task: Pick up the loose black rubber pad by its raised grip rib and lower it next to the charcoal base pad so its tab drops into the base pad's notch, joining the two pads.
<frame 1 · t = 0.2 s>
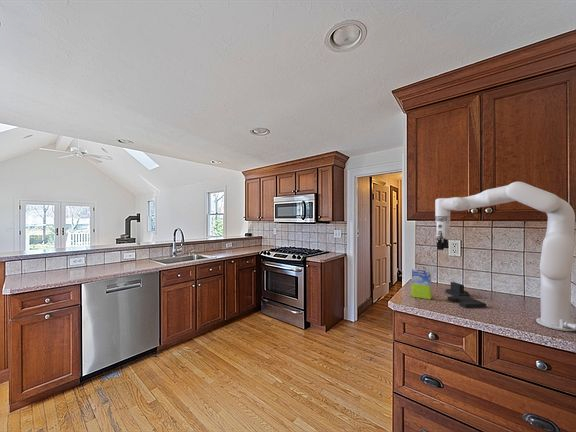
hand: (442, 248, 149), 31 cm above the table, tool pointing down, fingers open, 9 cm apart
box: (421, 297, 158), on the table
base pad: (466, 303, 147), on the table
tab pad: (457, 294, 163), on the table
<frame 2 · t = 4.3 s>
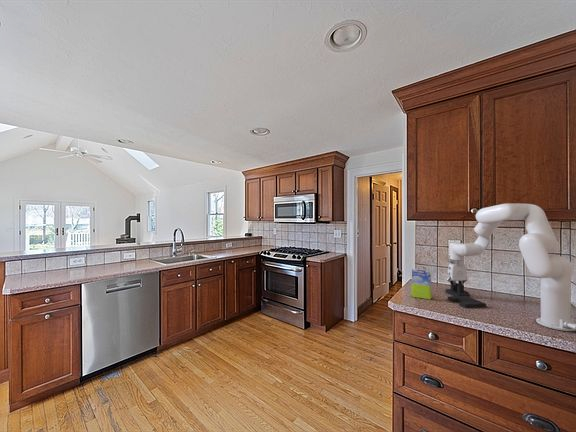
hand: (457, 290, 164), 3 cm above the table, tool pointing down, fingers closed on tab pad, 3 cm apart
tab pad: (457, 294, 163), on the table, touching gripper
everything else where it was.
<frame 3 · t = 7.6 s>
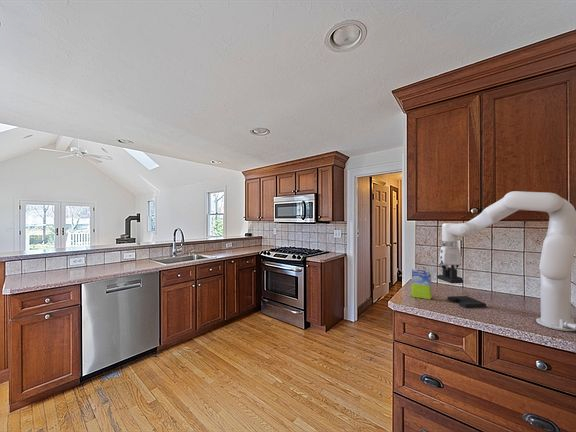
hand: (449, 276, 147), 16 cm above the table, tool pointing down, fingers closed on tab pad, 3 cm apart
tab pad: (449, 280, 147), point 13 cm above the table, touching gripper
everything else where it was.
when the fingers open (2 cm above the table, at t = 11.1 s): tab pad stays where it is, on the table.
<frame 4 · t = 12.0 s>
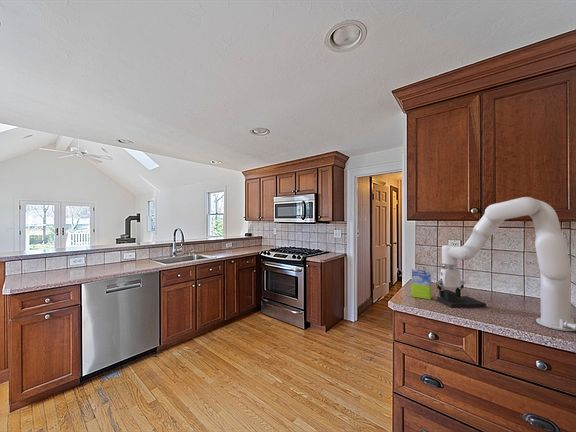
hand: (450, 297, 146), 4 cm above the table, tool pointing down, fingers open, 9 cm apart
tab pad: (449, 303, 146), on the table
everything else where it was.
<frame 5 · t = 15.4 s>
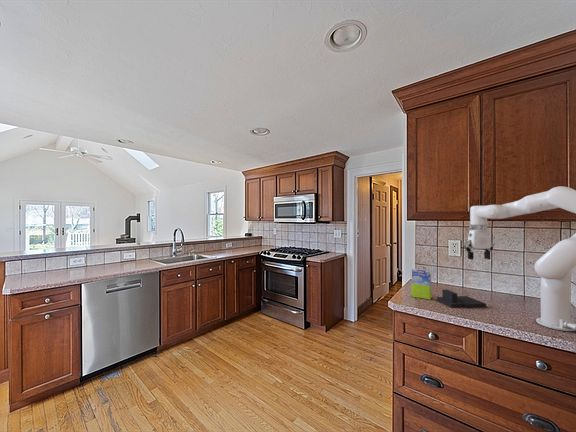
hand: (479, 259, 141), 26 cm above the table, tool pointing down, fingers open, 9 cm apart
nothing on the table moved.
at the end: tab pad 0.2 cm from the target spot on the table beside the base pad, on the table; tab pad tilted 0°; the gripper is holding nothing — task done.
